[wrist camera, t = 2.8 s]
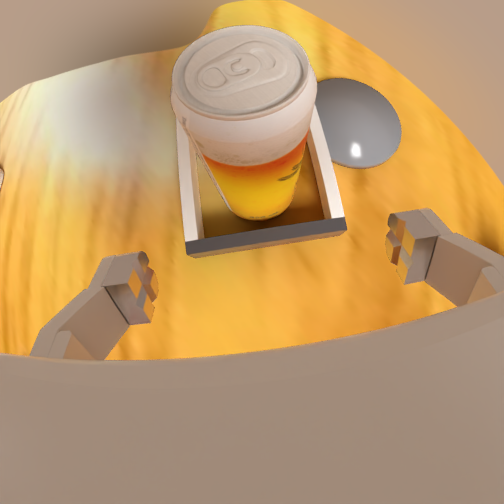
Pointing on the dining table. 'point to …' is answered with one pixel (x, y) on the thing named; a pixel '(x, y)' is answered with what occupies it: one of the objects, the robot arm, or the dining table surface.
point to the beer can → (247, 114)
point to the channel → (269, 236)
